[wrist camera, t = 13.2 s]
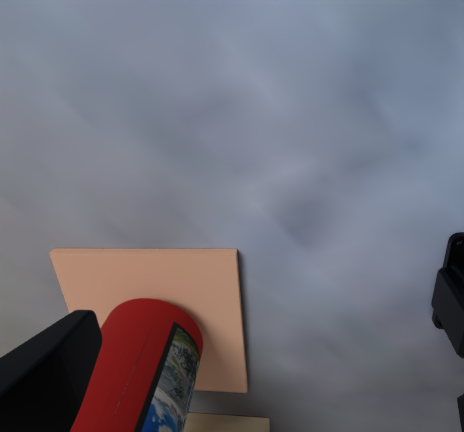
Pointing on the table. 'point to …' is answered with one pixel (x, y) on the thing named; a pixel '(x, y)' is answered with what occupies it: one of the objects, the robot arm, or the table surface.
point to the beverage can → (142, 370)
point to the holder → (225, 423)
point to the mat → (167, 297)
